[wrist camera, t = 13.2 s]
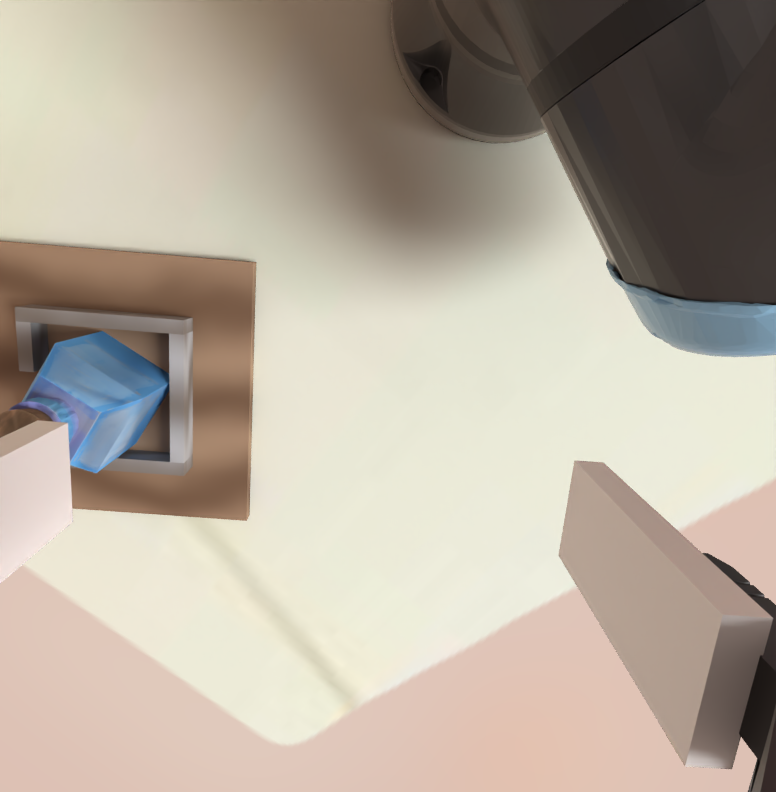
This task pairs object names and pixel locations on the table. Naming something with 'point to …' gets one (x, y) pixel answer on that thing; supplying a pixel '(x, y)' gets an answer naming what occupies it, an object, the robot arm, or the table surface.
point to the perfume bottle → (92, 397)
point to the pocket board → (160, 344)
